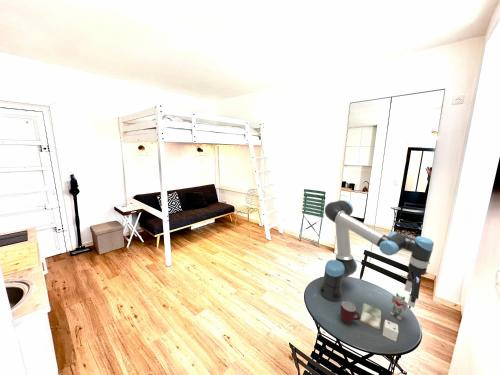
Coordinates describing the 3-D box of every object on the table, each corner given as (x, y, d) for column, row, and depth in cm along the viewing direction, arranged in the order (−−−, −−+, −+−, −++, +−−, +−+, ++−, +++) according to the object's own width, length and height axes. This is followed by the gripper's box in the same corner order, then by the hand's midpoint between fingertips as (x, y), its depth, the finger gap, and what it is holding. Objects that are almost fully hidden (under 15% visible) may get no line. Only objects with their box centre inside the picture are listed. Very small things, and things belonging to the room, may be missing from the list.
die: (382, 335, 111) (385, 326, 110) (383, 327, 116) (385, 319, 115) (395, 341, 108) (398, 332, 107) (395, 333, 113) (397, 324, 112)
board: (360, 320, 120) (360, 319, 120) (363, 304, 133) (363, 302, 133) (379, 330, 115) (380, 328, 114) (380, 311, 128) (381, 310, 127)
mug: (356, 318, 122) (359, 304, 120) (359, 329, 114) (362, 314, 112) (337, 312, 125) (340, 299, 123) (339, 323, 117) (342, 309, 115)
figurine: (385, 309, 129) (390, 289, 126) (397, 310, 129) (403, 290, 126) (394, 320, 122) (399, 299, 118) (407, 320, 122) (412, 300, 118)
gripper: (432, 280, 96) (421, 316, 101) (422, 256, 117) (413, 287, 122) (413, 274, 100) (403, 309, 105) (406, 252, 121) (398, 282, 126)
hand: (408, 298), depth 113 cm, fingers open, 13 cm apart
